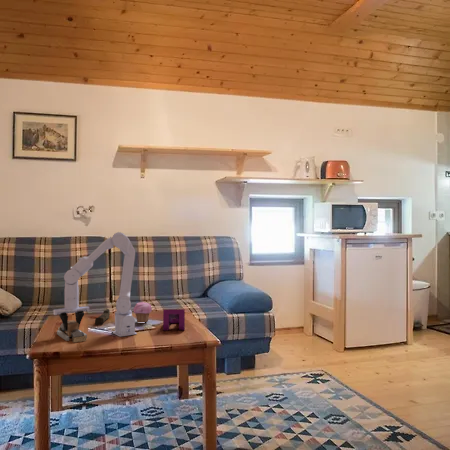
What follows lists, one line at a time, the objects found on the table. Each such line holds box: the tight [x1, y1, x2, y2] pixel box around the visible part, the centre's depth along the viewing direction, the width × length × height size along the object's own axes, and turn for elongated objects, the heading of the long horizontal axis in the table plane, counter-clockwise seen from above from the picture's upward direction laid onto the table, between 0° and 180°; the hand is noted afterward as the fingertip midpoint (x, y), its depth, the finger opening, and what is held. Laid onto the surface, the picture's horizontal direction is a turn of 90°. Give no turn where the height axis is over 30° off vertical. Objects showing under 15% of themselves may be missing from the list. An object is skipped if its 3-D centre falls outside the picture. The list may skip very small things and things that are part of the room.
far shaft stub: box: [57, 322, 65, 334], centre depth 201 cm, size 6×5×4 cm
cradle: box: [56, 330, 88, 342], centre depth 194 cm, size 14×8×2 cm, turn 35°
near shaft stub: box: [70, 329, 87, 344], centre depth 187 cm, size 6×5×4 cm
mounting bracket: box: [162, 308, 186, 332], centre depth 211 cm, size 9×8×18 cm
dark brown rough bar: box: [94, 308, 111, 326], centre depth 225 cm, size 19×4×5 cm, turn 179°
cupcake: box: [133, 301, 153, 323], centre depth 220 cm, size 9×9×10 cm
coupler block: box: [64, 320, 80, 338], centre depth 194 cm, size 4×8×5 cm, turn 31°
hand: (71, 329), depth 194 cm, fingers closed on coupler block, 4 cm apart
